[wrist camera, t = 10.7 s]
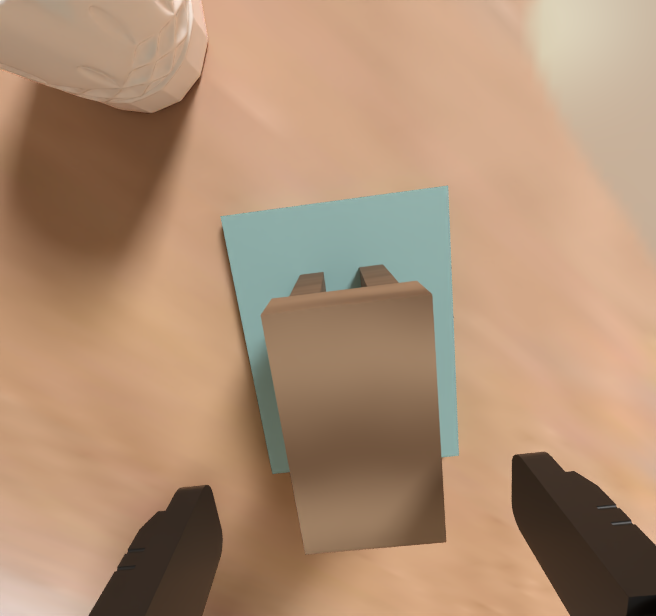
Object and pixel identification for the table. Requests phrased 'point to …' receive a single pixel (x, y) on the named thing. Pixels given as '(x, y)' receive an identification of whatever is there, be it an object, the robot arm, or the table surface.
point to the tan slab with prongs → (359, 410)
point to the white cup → (107, 48)
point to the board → (344, 277)
